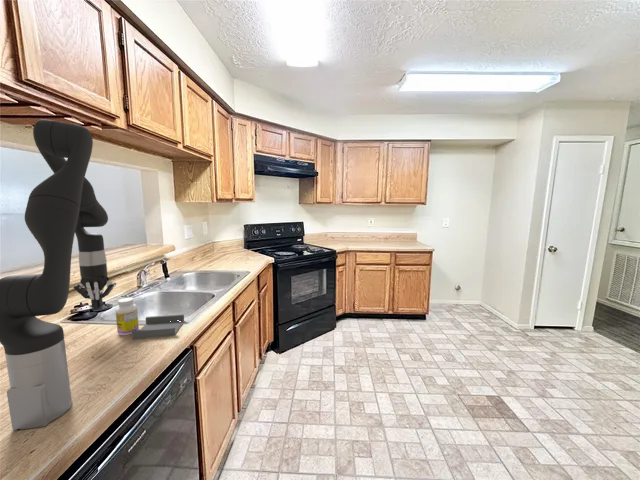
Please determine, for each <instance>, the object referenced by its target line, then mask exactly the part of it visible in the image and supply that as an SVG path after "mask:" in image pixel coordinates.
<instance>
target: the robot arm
mask: <svg viewBox="0 0 640 480" xmlns="http://www.w3.org/2000/svg"><path fill="white" fill-rule="evenodd" d="M32 129H33V130H32V135H33V140H34V143H35V145H36V147H37V149H38V151H39V153H40V155H41V156H42V157H43V159H44V160H45V162H46V163H47V165H48V167H49V168H50V169H51V171H52V172H53V174H52V175H50V176H48V177H47V178H45V179H44V180H43V181H41V182H40V183H39V184H38V185H36V186H35V187H34V188H33V189H32V190H31V192H30V193H29V197H28V200H27V204H26V206H25V207H26V208H25V211H24V222H25V225H26V227H27V228H28V230H29V231H30V233H31V234H32V236H33V238H34V239H35V240H36V242H37V243H38V244H39V246H40V248H41V250H42V252H43V257H44V258H43V259H44V260H43V261H44V263H43V264H44V265H43V269H42V270H43V271H42V273H35V274H34V273H33V274H31V273H30V274H18V275H17V274H16V275H15V274H14V275H9V276H3V277H1V278H0V344H1V346H3V348H4V349H3V350H4V354H5V362H6V369H7V375H8V383H9V387H10V388H8V389H7V391H6V397H7V403H8V410H9V416H10V423H11V429H13V430H14V431H18V430H17V429H21V430H26V429H35V428H42V427H46V426H48V424H49V423H51V422H52V421H54V420H56V419H58V418H60V417H61V416H62V415H64V414H65V413H67V411H68V410H70V408H72V405H73V400H72V392H71V384H70V375H69V369H68V368H69V365H68V357H67V350H66V342H65V341H66V340H65V333H64V329H63V326H62V325H60V324H58V323H54V322H50V321H48V322H47V321H45V320H42V319H40V318H39V317H41V316H50V315H56V314H59V313H60V312H61V311H62V310H63V309H64V308H65V306H66V304H67V301H68V298H69V294H70V285H71V271H72V270H71V269H72V268H71V267H72V266H71V265H72V254H73V245H74V239H75V236H76V239H77V240H76V241H77V247H78V265H79V275H80V277H81V278H80V280H79V283H78V284H76V285H74V286H73V289H74V290H75V291H76V292H77V293H78V294H79V295H80V296H82V297H83V299H88V300H91V302H90V303H91V308H92V309H93V310H100V309H101V308H102V307H103V305H104V302H103V299H104V298H105V297H107V296H108V295H109V294H110V293H111V292H112V291H113V289H114V288H115V287H116V285H117V282H112V281H111V280H110V278H109V277H108V266H107V265H108V264H107V263H108V262H107V255H106V251H105V243H104V237H103V235H102V234H100V233H92V232H90V231H89V232H88V231H87V230H86V229H85V228H100V227H104V226H105V225H107V224H108V222H109V216H108V213H107V211H106V209H105V208H104V207H103V205H101V204H100V202H99V201H98V199H97V197H96V192H95V190H94V187H93V185H92V184H91V182H90V181H89V179H88V178H86V173H87V170H88V167H89V163H90V160H91V156H92V151H93V147H94V145H93V144H94V142H93V141H94V140H93V135H92V132H91V131H90V130H89V129H88V128H87V127H85V126H84V125H83V126H82V125H79V124H76V123H75V124H74V123H70V122H63V121H57V120H51V119H38V120H37V121H36V122H35V123H34V125H33V127H32ZM105 287H106V288H105ZM104 288H105V289H104ZM13 430H12V431H13Z"/></svg>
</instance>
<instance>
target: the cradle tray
mask: <svg viewBox="0 0 640 480" xmlns="http://www.w3.org/2000/svg"><path fill="white" fill-rule="evenodd" d="M177 320H179V321H181V322H179V321H177ZM170 321H171V322H170ZM183 321H185V314H182V313H181V314H169V315H168V314H166V315H156V316H155V315H154V316H153V315H152V316H146V317H145V324H144V325H143V326H142V327H141V329H138V330H133V331H132V334H131V338H132V340H140V339H150V338H161V337H175V335H176V334H177V333H178V331H179V330H180V328H181V326H182V325H183V323H184V322H183Z"/></svg>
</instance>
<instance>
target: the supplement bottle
mask: <svg viewBox="0 0 640 480" xmlns="http://www.w3.org/2000/svg"><path fill="white" fill-rule="evenodd" d="M117 305H118V306H117V307H116V309H115V319H116V321H115V322H116V329H117V335H120V336H129V335H132V331H133V330H140V329H139V326H140V324H139V316H138V306H137V304H135V303H134V298H133V297H124V298H120V299H118V301H117Z"/></svg>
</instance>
